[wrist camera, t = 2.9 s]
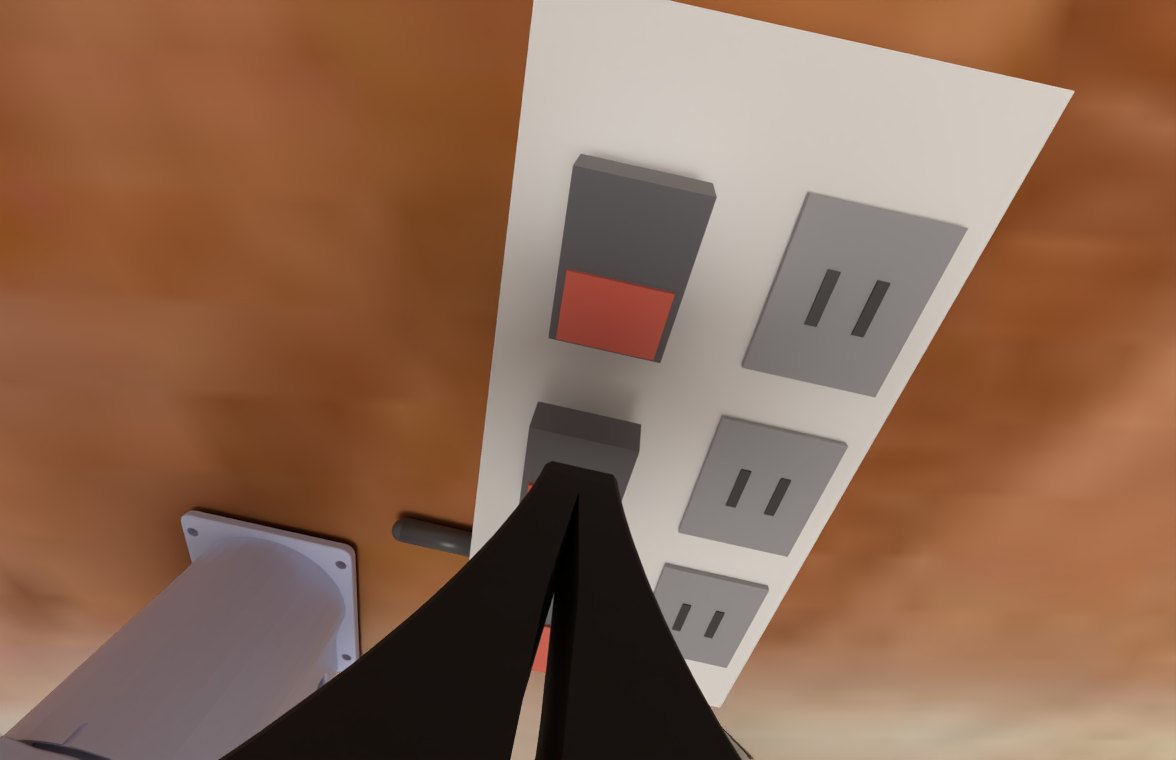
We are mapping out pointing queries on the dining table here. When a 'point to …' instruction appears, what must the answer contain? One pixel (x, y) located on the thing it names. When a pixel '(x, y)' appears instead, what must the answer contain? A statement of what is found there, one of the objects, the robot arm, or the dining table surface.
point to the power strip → (744, 281)
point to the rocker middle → (580, 444)
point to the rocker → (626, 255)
